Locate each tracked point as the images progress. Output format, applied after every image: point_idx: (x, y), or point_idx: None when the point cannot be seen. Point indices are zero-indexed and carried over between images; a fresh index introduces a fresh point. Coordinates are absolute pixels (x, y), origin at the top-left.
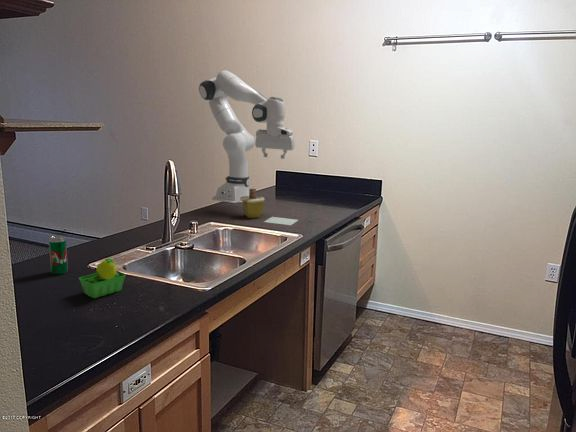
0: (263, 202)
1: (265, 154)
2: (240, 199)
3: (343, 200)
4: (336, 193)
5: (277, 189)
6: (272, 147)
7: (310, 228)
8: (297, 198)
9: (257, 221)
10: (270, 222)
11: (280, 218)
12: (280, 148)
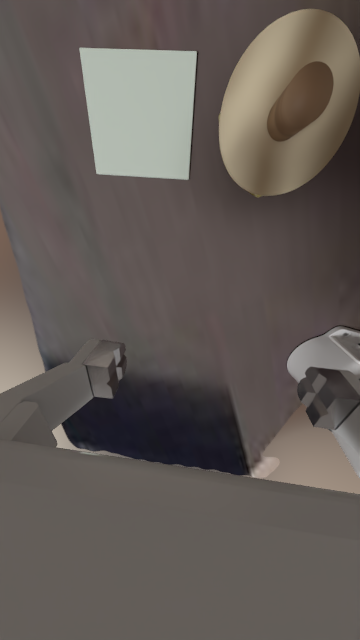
0: (219, 117)
1: (342, 391)
2: (355, 75)
3: (103, 411)
4: (135, 447)
5: (241, 452)
6: (267, 521)
7: (8, 52)
8: (187, 406)
9: (226, 74)
10: (167, 56)
11: (155, 164)
12: (24, 469)
